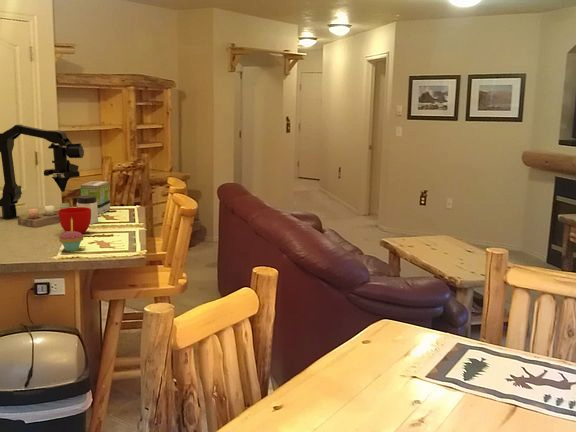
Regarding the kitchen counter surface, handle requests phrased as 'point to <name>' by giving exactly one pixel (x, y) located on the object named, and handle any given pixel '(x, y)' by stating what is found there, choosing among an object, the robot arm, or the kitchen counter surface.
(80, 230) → the ceramic cup
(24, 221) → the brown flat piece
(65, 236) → the cupcake
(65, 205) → the green button
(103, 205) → the tea box
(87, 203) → the jar
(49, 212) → the cream button
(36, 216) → the terracotta button
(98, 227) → the kitchen counter surface
